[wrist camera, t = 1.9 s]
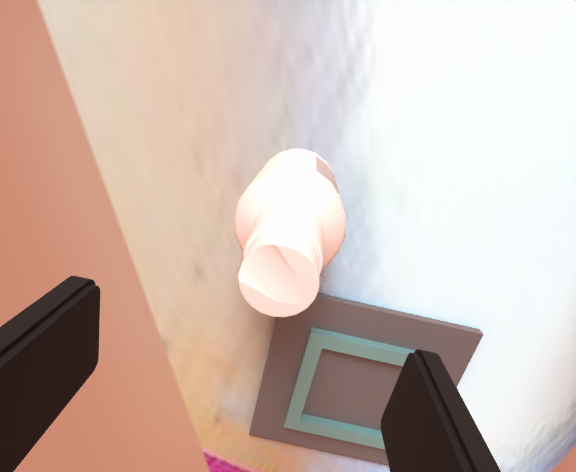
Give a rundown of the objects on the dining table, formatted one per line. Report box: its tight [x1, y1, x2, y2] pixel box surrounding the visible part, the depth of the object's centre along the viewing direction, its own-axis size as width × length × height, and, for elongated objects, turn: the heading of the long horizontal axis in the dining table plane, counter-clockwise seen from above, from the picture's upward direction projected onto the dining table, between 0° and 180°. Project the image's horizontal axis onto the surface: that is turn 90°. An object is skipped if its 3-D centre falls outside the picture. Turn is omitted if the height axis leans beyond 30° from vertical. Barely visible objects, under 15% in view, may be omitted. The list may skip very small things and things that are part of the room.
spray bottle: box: [234, 149, 346, 317], centre depth 23 cm, size 7×7×18 cm
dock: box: [249, 293, 483, 465], centre depth 38 cm, size 20×20×2 cm
